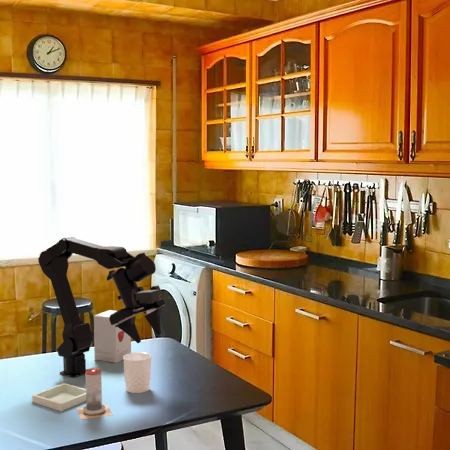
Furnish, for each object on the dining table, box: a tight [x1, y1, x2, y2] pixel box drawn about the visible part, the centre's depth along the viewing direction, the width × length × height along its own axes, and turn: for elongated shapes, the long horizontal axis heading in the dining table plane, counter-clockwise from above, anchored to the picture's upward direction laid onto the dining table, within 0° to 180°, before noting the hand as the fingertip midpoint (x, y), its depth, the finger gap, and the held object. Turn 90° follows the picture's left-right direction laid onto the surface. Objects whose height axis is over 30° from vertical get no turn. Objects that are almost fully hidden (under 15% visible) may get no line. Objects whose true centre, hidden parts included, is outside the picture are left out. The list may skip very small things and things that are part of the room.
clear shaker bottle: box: [83, 367, 105, 416], centre depth 170 cm, size 6×6×11 cm
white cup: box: [122, 351, 152, 394], centre depth 187 cm, size 8×8×10 cm
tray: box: [31, 382, 86, 412], centre depth 179 cm, size 11×11×2 cm
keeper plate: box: [76, 403, 113, 420], centre depth 171 cm, size 8×8×1 cm
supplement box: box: [93, 309, 132, 364], centre depth 217 cm, size 9×9×15 cm
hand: (149, 338), depth 185 cm, fingers open, 9 cm apart
